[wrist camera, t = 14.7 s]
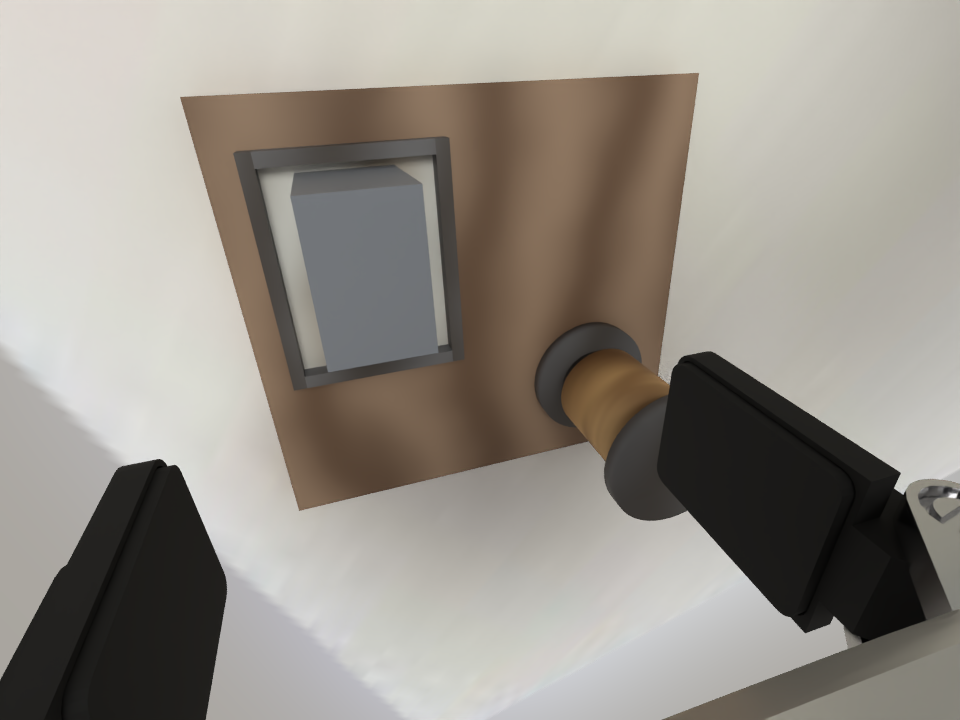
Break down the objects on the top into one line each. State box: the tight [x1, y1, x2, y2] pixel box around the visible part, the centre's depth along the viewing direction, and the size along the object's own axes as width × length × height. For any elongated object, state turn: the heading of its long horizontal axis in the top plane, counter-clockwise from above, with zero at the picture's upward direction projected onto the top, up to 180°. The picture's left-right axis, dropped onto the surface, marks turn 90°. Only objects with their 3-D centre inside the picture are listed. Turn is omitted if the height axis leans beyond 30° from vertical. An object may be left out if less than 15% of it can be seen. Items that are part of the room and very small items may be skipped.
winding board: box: [180, 73, 699, 521], centre depth 22 cm, size 22×20×10 cm
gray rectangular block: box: [290, 165, 438, 372], centre depth 19 cm, size 4×6×6 cm, turn 3°
